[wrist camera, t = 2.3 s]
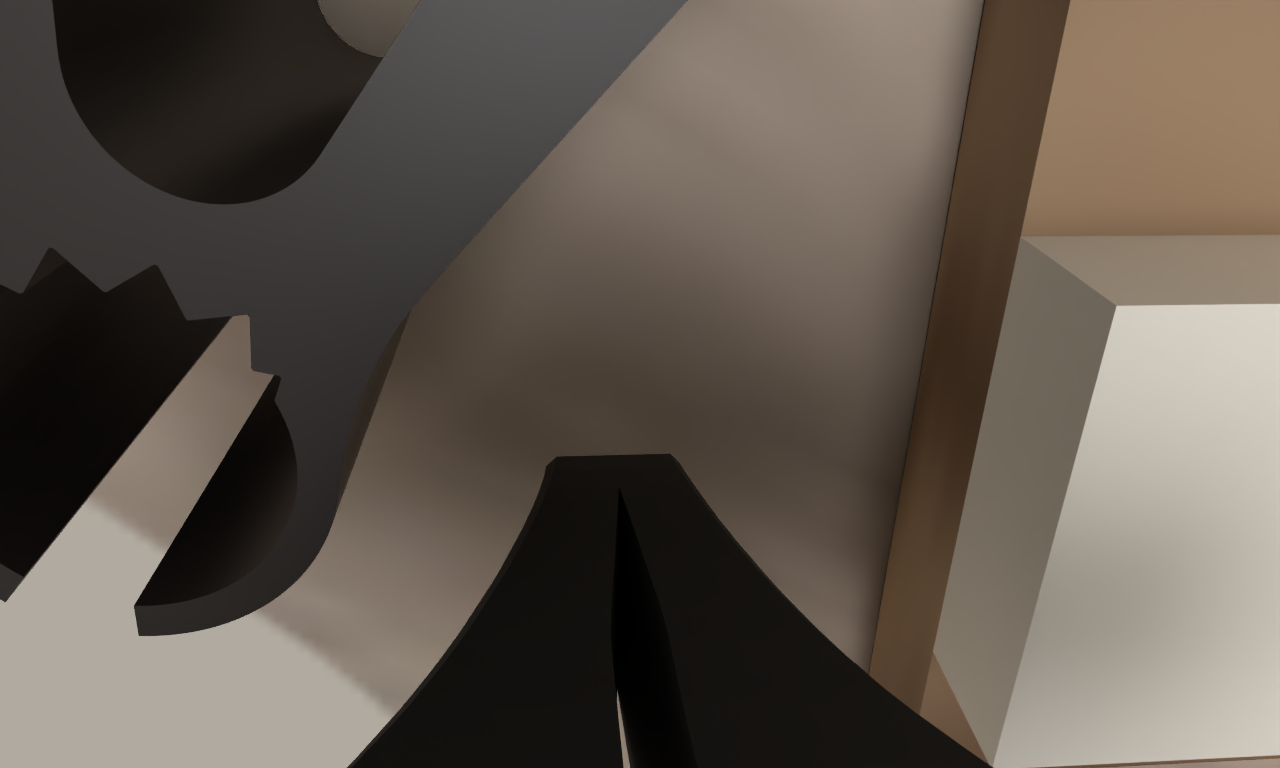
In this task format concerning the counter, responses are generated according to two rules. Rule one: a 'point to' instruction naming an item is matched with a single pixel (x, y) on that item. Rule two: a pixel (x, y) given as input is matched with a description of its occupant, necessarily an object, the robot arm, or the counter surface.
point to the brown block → (1066, 234)
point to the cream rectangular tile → (1125, 508)
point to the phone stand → (248, 241)
